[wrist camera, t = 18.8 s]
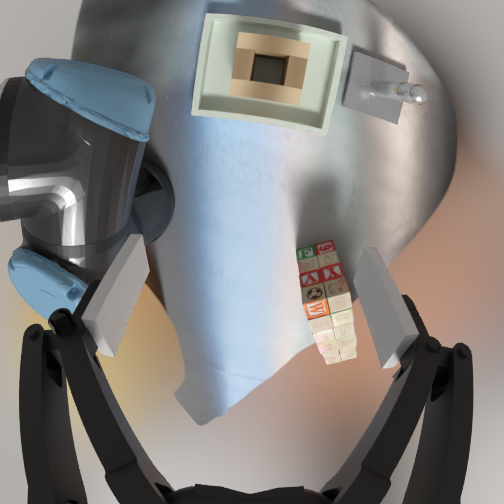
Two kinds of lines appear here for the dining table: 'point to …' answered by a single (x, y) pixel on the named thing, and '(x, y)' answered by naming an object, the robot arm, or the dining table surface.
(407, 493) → the robot arm
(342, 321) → the stack of blocks
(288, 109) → the tray
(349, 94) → the post
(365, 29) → the dining table surface
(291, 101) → the oak block
